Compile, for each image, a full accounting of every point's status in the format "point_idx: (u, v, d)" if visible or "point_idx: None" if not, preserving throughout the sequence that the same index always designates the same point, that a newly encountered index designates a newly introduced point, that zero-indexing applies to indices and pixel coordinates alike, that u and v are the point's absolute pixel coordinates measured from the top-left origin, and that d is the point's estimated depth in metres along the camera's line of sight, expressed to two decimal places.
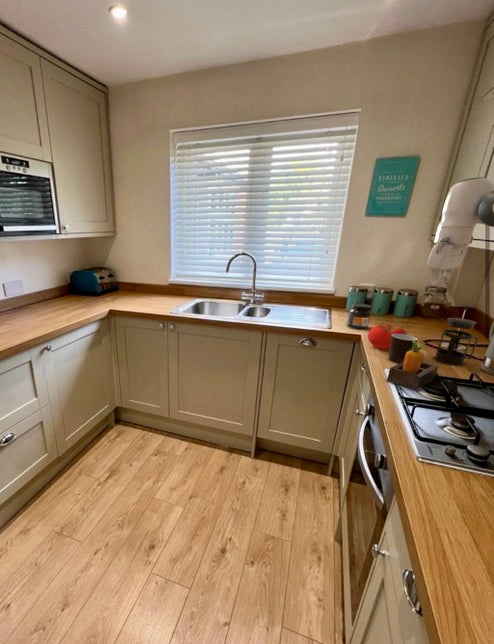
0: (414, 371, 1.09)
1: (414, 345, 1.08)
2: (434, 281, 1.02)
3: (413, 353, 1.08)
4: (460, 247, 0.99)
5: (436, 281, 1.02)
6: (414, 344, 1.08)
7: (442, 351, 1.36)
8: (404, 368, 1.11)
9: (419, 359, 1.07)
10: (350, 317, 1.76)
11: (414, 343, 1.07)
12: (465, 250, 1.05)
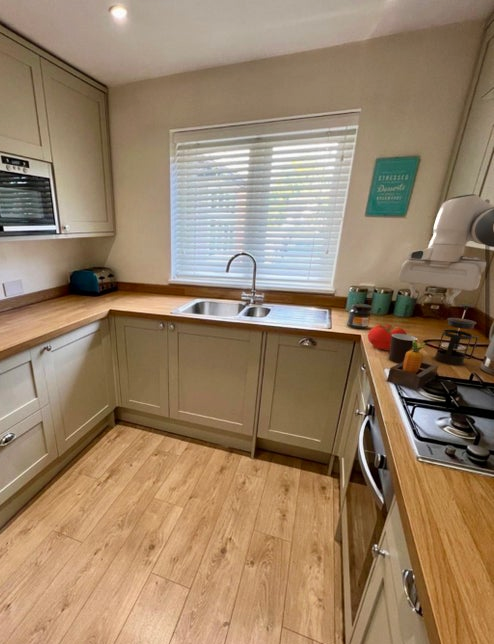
0: (414, 371, 1.09)
1: (414, 345, 1.08)
2: (452, 300, 0.99)
3: (413, 353, 1.08)
4: None
5: (452, 300, 0.99)
6: (414, 344, 1.08)
7: (442, 351, 1.36)
8: (404, 368, 1.11)
9: (419, 359, 1.07)
10: (350, 317, 1.76)
11: (414, 343, 1.07)
12: None
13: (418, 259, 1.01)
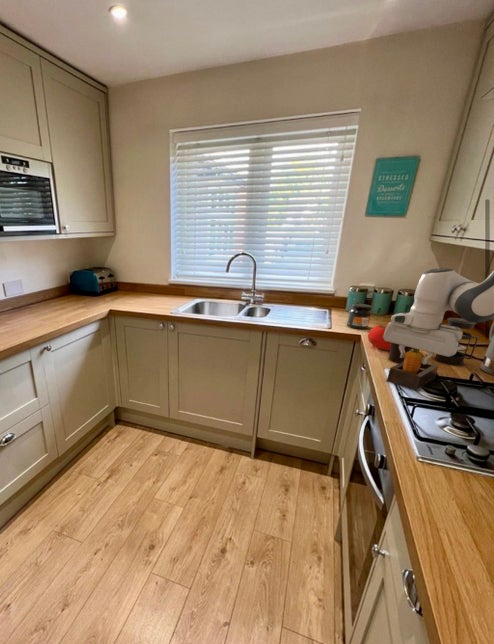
0: (414, 371, 1.09)
1: None
2: (426, 361, 1.07)
3: (413, 353, 1.08)
4: None
5: (427, 360, 1.07)
6: None
7: None
8: (404, 368, 1.11)
9: (419, 359, 1.07)
10: (350, 317, 1.76)
11: None
12: None
13: (401, 323, 1.08)
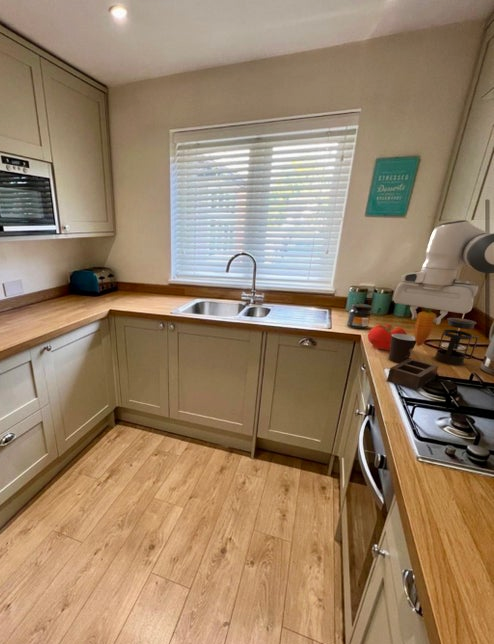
0: (427, 332, 1.04)
1: None
2: (439, 321, 1.02)
3: (425, 313, 1.03)
4: None
5: (440, 320, 1.02)
6: None
7: (442, 351, 1.36)
8: (416, 330, 1.06)
9: (432, 319, 1.02)
10: (350, 317, 1.76)
11: None
12: None
13: (412, 282, 1.03)
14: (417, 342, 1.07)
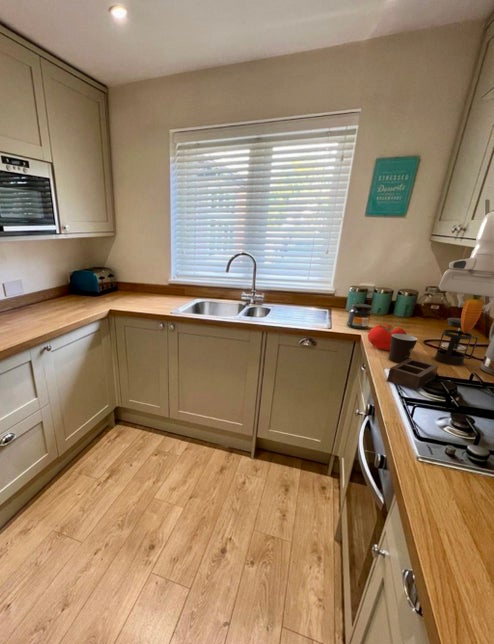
0: (474, 319, 1.04)
1: None
2: (488, 308, 1.02)
3: (474, 300, 1.03)
4: None
5: (488, 307, 1.02)
6: None
7: (442, 351, 1.36)
8: (463, 318, 1.06)
9: (481, 306, 1.02)
10: (350, 317, 1.76)
11: None
12: None
13: (460, 269, 1.03)
14: (463, 329, 1.07)
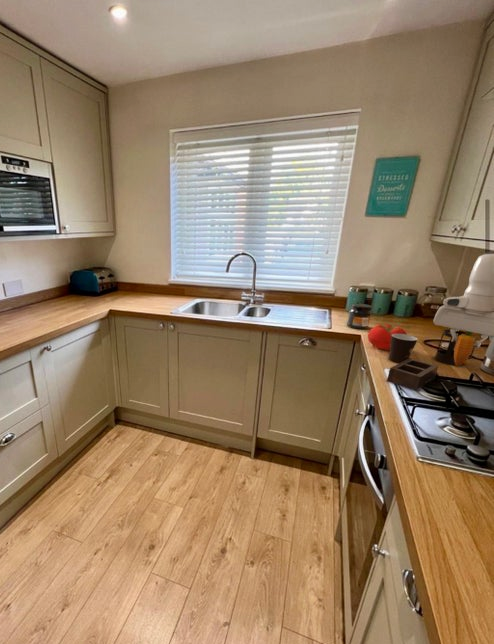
0: (467, 354, 1.09)
1: None
2: (480, 344, 1.07)
3: (466, 336, 1.08)
4: None
5: (480, 344, 1.07)
6: None
7: (442, 351, 1.36)
8: (456, 352, 1.10)
9: (473, 342, 1.07)
10: (350, 317, 1.76)
11: None
12: None
13: (454, 306, 1.08)
14: (456, 363, 1.12)
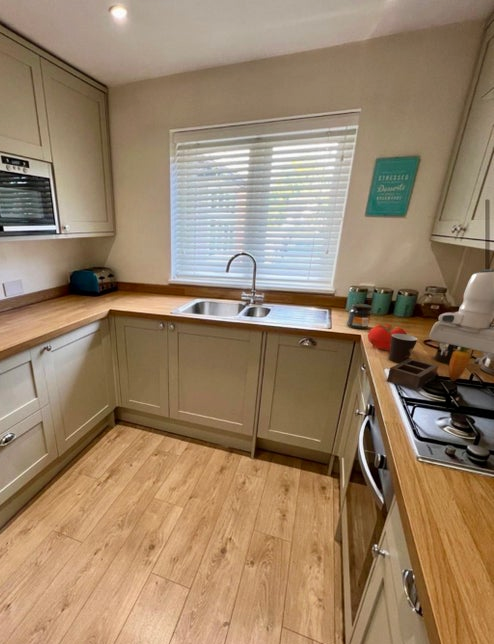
0: (461, 370, 1.11)
1: None
2: (481, 361, 1.07)
3: (461, 352, 1.10)
4: None
5: None
6: None
7: None
8: (451, 368, 1.12)
9: (467, 358, 1.09)
10: (350, 317, 1.76)
11: None
12: None
13: (449, 322, 1.09)
14: (451, 378, 1.14)
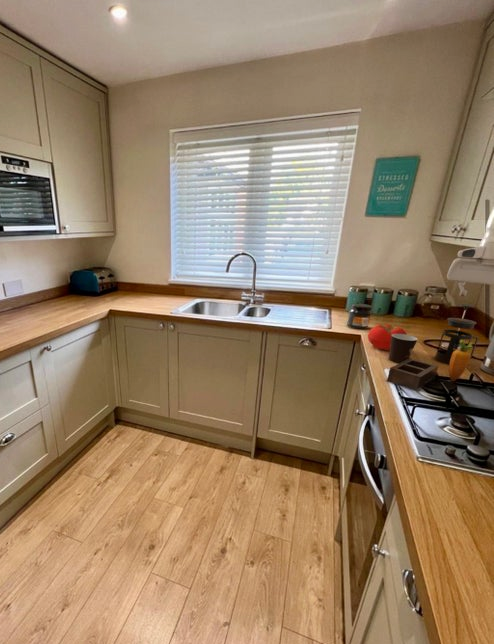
0: (461, 370, 1.11)
1: (462, 344, 1.10)
2: None
3: (461, 352, 1.10)
4: None
5: None
6: (462, 343, 1.09)
7: (442, 351, 1.36)
8: (451, 368, 1.12)
9: (467, 358, 1.09)
10: (350, 317, 1.76)
11: (462, 342, 1.09)
12: None
13: (469, 257, 1.02)
14: (451, 378, 1.14)
